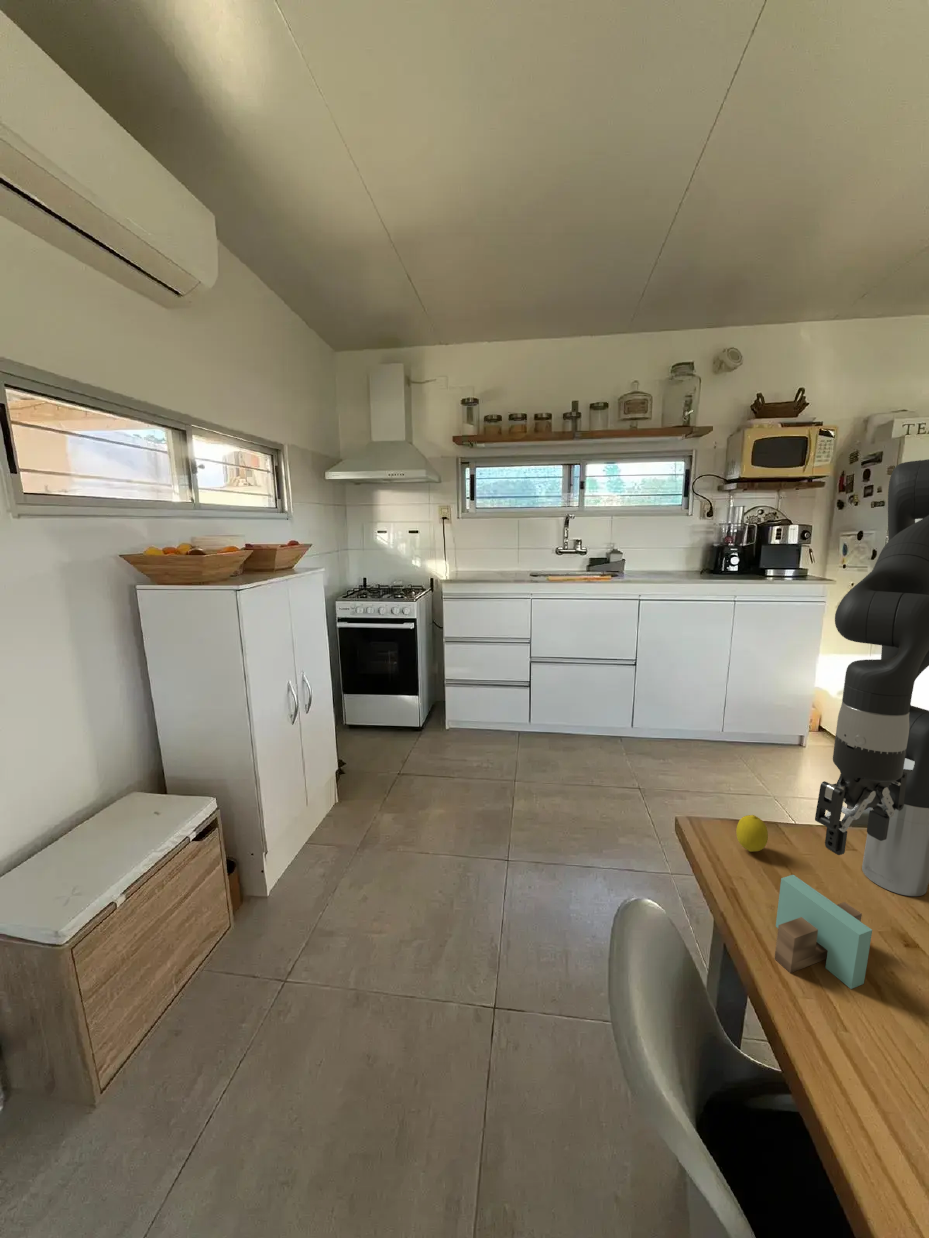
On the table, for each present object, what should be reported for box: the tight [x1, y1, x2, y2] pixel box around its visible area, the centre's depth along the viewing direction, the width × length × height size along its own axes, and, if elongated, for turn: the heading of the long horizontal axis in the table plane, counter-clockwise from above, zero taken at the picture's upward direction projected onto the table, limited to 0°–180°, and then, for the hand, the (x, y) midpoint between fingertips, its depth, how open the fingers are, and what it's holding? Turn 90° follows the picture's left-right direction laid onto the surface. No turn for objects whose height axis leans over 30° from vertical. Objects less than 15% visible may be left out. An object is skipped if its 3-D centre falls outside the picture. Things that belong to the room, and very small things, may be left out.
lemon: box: [735, 814, 769, 853], centre depth 100 cm, size 6×6×8 cm
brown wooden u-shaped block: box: [774, 901, 863, 974], centre depth 77 cm, size 14×3×6 cm, turn 108°
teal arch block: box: [775, 874, 873, 990], centre depth 76 cm, size 12×3×9 cm, turn 18°
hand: (855, 844), depth 71 cm, fingers open, 8 cm apart
